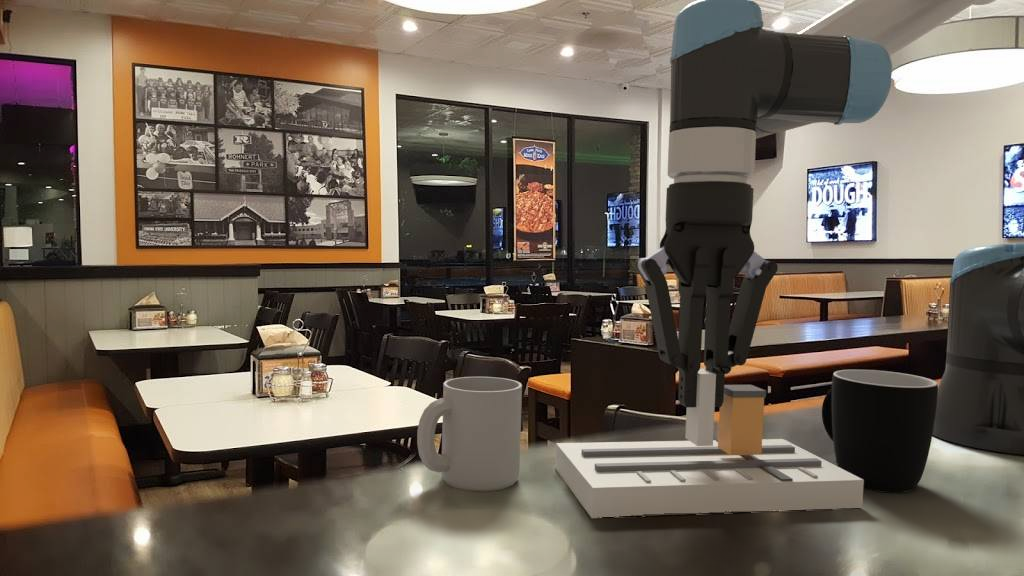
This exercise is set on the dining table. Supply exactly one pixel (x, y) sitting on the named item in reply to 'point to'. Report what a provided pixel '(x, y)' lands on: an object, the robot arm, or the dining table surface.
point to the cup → (474, 433)
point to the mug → (881, 426)
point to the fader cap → (741, 420)
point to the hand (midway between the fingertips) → (698, 441)
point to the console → (701, 478)
